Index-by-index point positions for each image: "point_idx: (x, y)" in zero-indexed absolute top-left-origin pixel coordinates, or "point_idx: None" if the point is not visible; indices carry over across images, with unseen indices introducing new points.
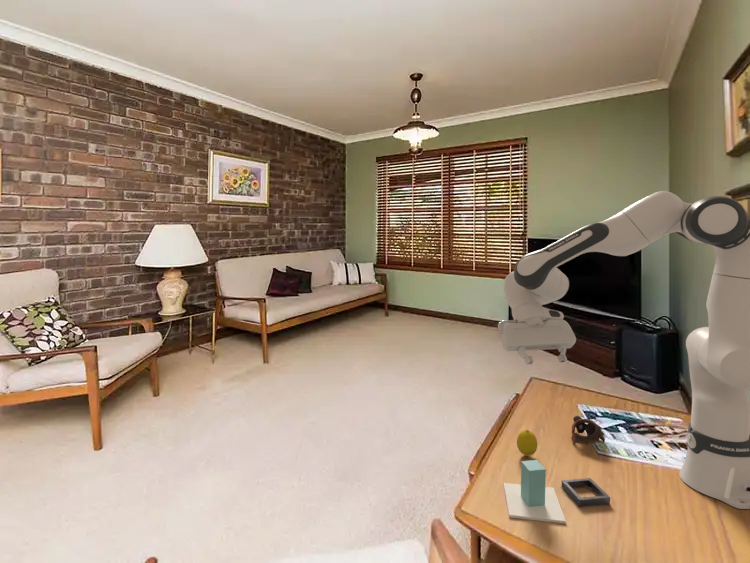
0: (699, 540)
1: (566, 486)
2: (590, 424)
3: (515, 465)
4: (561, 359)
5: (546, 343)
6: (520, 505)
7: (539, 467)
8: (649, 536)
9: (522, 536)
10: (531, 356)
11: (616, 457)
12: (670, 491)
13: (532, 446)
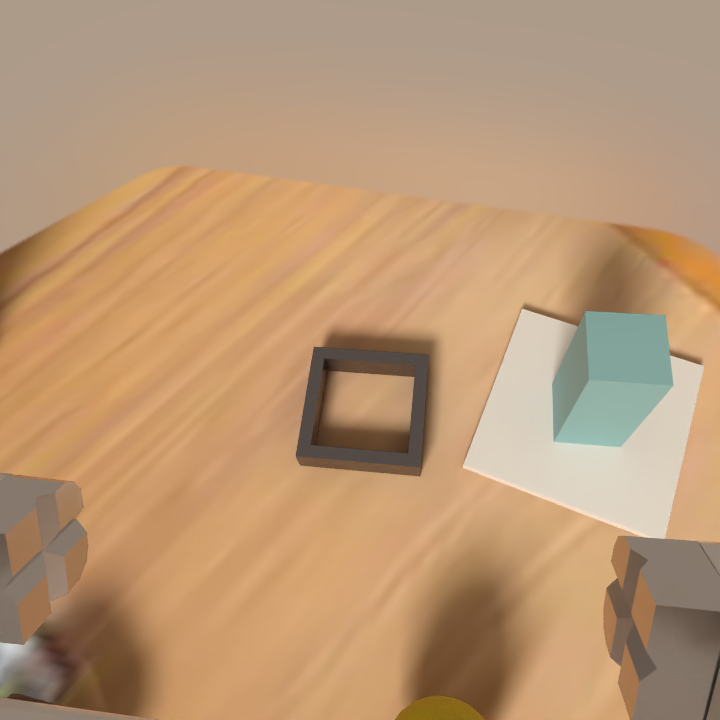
0: (206, 209)
1: (422, 435)
2: None
3: (541, 681)
4: (70, 494)
5: (100, 711)
6: None
7: (607, 326)
8: (317, 238)
9: (684, 294)
10: (662, 595)
11: None
12: (64, 375)
13: (439, 696)
